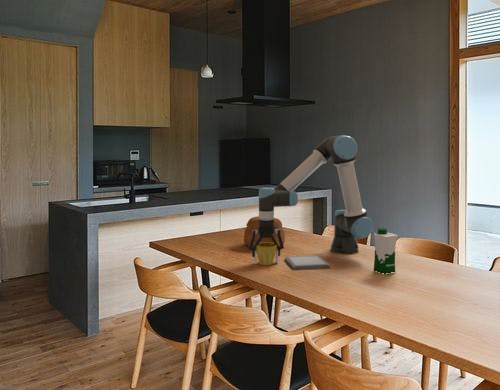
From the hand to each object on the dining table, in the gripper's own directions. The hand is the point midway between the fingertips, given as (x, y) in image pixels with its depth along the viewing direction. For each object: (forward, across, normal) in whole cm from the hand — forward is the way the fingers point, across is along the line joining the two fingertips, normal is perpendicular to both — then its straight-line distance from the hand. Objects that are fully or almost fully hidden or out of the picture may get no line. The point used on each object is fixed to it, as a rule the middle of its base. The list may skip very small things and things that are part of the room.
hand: (266, 262), depth 223 cm
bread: (+1, -6, -39) cm, 39 cm away
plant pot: (0, 0, 0) cm, 0 cm away
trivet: (0, -20, +3) cm, 20 cm away
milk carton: (0, -52, +22) cm, 57 cm away
